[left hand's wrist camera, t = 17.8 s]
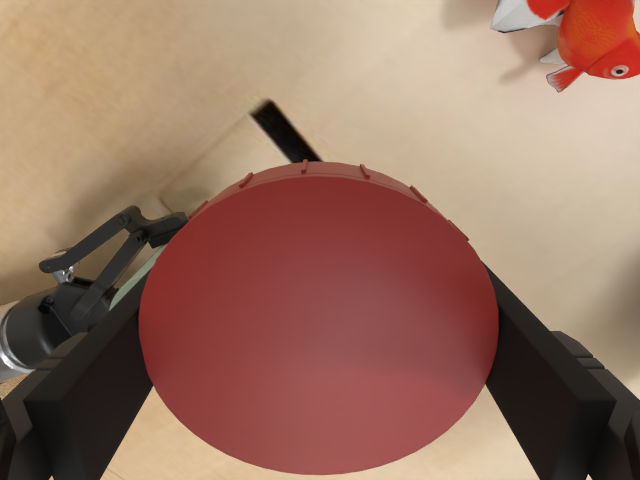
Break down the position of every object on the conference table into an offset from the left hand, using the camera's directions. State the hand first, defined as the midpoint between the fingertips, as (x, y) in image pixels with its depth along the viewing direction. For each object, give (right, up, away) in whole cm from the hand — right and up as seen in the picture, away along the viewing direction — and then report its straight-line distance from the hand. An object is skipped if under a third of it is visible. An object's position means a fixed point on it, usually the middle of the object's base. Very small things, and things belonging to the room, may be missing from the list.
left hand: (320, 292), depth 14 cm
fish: (+18, +22, +18) cm, 33 cm away
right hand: (-7, 0, +20) cm, 21 cm away
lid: (0, -1, -3) cm, 3 cm away
